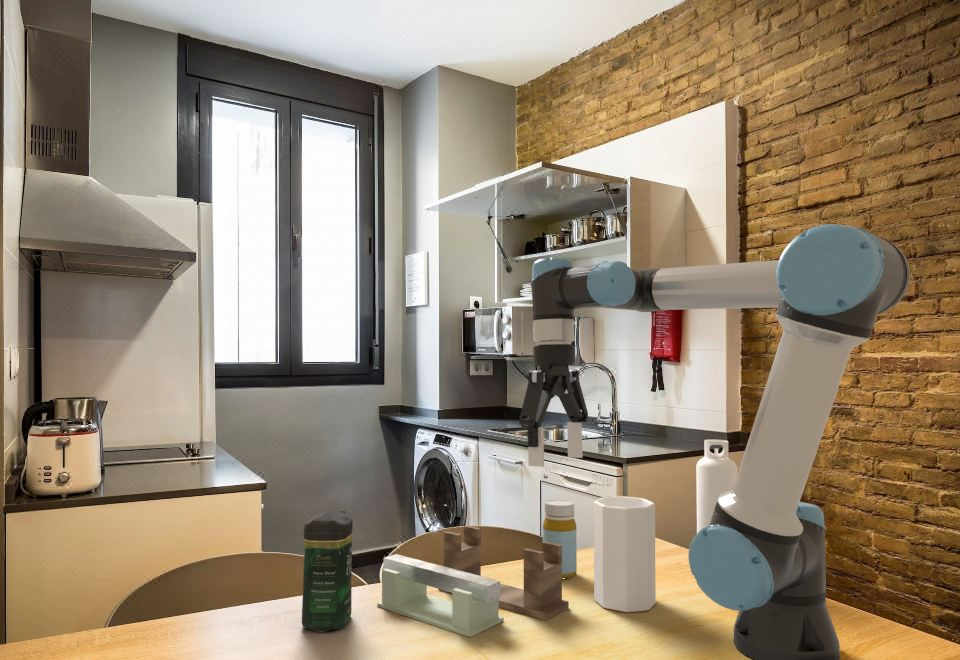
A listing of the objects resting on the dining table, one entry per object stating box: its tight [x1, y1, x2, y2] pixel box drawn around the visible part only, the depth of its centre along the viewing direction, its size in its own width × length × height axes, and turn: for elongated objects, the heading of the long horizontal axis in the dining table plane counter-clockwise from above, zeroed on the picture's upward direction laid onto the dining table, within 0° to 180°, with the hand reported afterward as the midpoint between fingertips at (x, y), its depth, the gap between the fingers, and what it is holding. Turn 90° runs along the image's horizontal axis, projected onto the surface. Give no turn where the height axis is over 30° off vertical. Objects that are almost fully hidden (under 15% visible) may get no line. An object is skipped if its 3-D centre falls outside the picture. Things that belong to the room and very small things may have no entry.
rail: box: [383, 553, 501, 603], centre depth 122 cm, size 25×3×3 cm, turn 51°
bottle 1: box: [542, 498, 578, 579], centre depth 144 cm, size 7×7×15 cm
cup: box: [593, 495, 657, 614], centre depth 128 cm, size 11×11×18 cm
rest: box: [376, 568, 504, 638], centre depth 122 cm, size 22×9×7 cm, turn 51°
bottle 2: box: [695, 439, 738, 534], centre depth 143 cm, size 8×8×28 cm
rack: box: [438, 525, 570, 621], centre depth 130 cm, size 25×8×11 cm, turn 51°
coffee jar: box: [301, 509, 354, 633], centre depth 118 cm, size 10×8×19 cm
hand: (556, 461), depth 124 cm, fingers open, 13 cm apart
